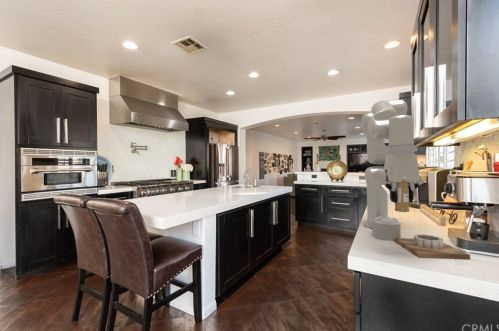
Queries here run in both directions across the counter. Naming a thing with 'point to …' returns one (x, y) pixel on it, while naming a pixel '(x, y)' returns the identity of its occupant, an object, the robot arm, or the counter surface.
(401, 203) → the sprinkles bottle
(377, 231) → the lumpy-topped squat cylinder
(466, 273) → the counter surface
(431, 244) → the socket ring
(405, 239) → the walnut board
